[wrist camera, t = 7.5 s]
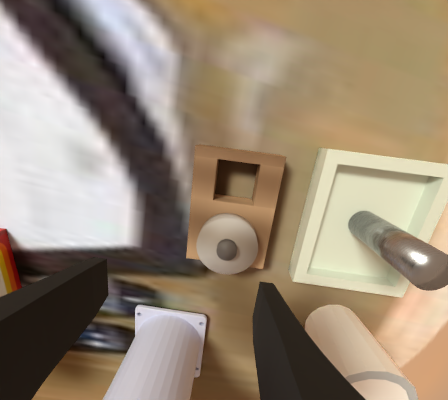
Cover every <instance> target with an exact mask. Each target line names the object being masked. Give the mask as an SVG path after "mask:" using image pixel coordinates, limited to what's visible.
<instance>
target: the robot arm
mask: <svg viewBox="0 0 448 400" xmlns="http://www.w3.org/2000/svg"><path fill="white" fill-rule="evenodd" d="M107 296H108V277H107V259H103V258H96V257H93V258H90V259H88V260H85V261H83V262H80V263H78V264H76V265H74V266H71V267H69V268H67V269H65V270H62V271H60V272H58V273H56V274H53V275H51V276H49V277H47V278H44V279H42V280H40V281H37V282H35V283H33V284H30V285H28V286H25V287H23V288H21V289H18V290H16V291H13V292H11V293H8V294H6V295H4V296H1V297H0V400H31V399H32V398H33V397H34V395H35V394H36V392H37V391H38V389H39V388H40V386H41V385H42V383H43V382H44V381H45V379H46V378H47V377H48V375H49V374H50V373H51V371H52V370H53V369H54V368H55V366H56V365H57V364H58V363H59V361H60V360H61V359H62V358H63V356H64V355H65V354H66V353H67V351H68V350H69V349H70V348H71V346H72V345H73V344H74V343H75V341H76V340H77V339H78V338H79V336H80V335H81V334H82V333H83V331H84V330H85V329H86V327H87V326H88V325H89V324H90V322H91V321H92V320H93V318H94V317H95V316H96V314H97V313H98V311H99V309H100V308H101V306H102V305H103V303H104V301H105V300H106V298H107ZM201 322H203V323H201ZM206 322H207V317H206V315H204V314H198V313H191V312H185V311H178V310H171V309H165V308H158V307H152V306H145V305H138V306H137V307H136V309H135V338H134V340H133V342H132V344H131V346H130V348H129V350H128V352H127V354H126V356H125V358H124V360H123V362H122V364H121V365H120V367H119V369H118V371H117V373H116V375H115V377H114V379H113V381H112V383H111V385H110V387H109V389H108V391H107V393H106V395H105V396H104V398H103V400H190V396H191V391H192V386H193V380H194V377H199V376H200V370H201V362H202V354H203V346H204V338H205V330H206ZM253 344H254V352H255V360H256V368H257V376H258V384H259V391H260V399H261V400H366V399H365V398H364V397H363V396H362V395H361V394H360V393H359V392H358V391H357V390H356V389H355V388H354V387H353V386H352V385H351V384H350V383H349V382H348V381H347V380H346V379H345V377H344V376H343V375H342V374H341V373H340V372H339V371H338V370H337V369H336V367H335V366H334V365H333V364H332V363H331V362H330V361H329V360H328V358H327V357H326V356H325V355H324V354H323V352H322V351H321V350H320V349H319V348H318V346H317V345H316V344H315V343H314V341H313V340H312V339H311V337H310V336H309V335H308V333H307V332H306V331H305V329H304V328H303V327H302V325H301V324H300V323H299V321H298V320H297V318H296V317H295V315H294V314H293V313H292V311H291V310H290V308H289V307H288V305H287V304H286V302H285V301H284V299H283V298H282V296H281V294H280V293H279V291H278V290H277V288H276V287H275V285H274V284H273V283H266V282H260V284H259V289H258V294H257V298H256V303H255V308H254V313H253Z"/></svg>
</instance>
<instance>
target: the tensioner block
mask: <svg viewBox="0 0 448 400" xmlns="http://www.w3.org/2000/svg"><path fill="white" fill-rule="evenodd" d="M219 159H222V160H230V161H237V162H245V163H252V164H258V167H257V173H256V178H255V184H254V190H253V196H252V199H249V198H241V197H234V196H227V195H219V194H215V192H216V183H217V174H218V166H219ZM285 161H286V157H284V156H282V155H276V154H269V153H261V152H253V151H246V150H238V149H230V148H223V147H215V146H208V145H195V157H194V169H193V182H192V194H191V207H190V219H189V232H188V244H187V256H186V258H191V259H198V260H201V261H202V262H203V264H204V265H205V266H206V267H208V268H209V269H211V270H212V271H215V272H217V273H221V274H236V273H239V272H242V271H244V270H246V269H247V268H248V267H253V268H260V269H263V265H264V261H265V256H266V251H267V246H268V242H269V237H270V232H271V227H272V223H273V218H274V213H275V208H276V203H277V199H278V194H279V189H280V184H281V180H282V175H283V170H284V165H285Z"/></svg>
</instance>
